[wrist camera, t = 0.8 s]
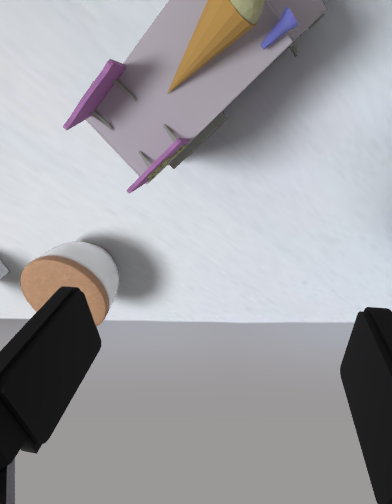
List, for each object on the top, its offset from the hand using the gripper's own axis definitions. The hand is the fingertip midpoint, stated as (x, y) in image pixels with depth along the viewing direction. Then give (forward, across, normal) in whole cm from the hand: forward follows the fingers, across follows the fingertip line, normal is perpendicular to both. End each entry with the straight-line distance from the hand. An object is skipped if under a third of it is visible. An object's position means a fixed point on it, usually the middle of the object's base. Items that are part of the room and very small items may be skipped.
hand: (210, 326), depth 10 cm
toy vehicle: (+28, +3, -8) cm, 29 cm away
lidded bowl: (+28, +24, +17) cm, 40 cm away
